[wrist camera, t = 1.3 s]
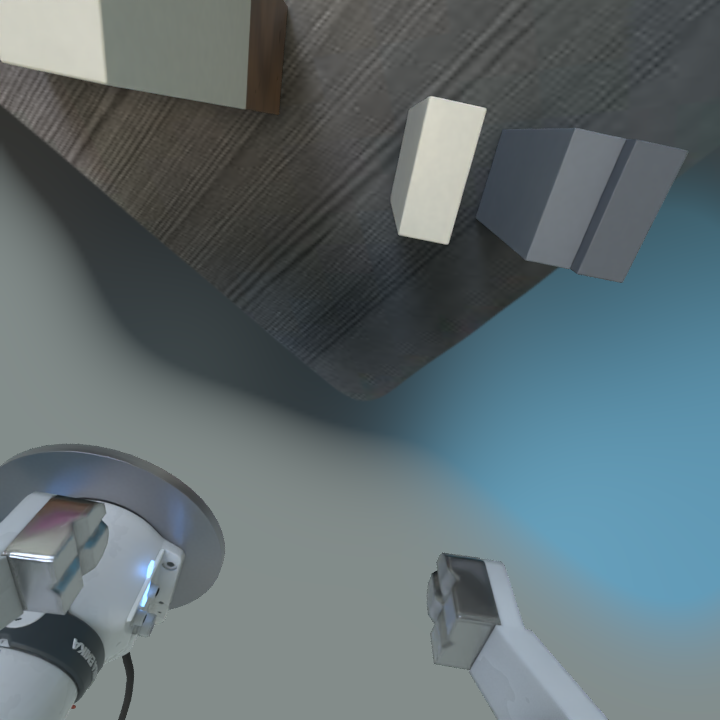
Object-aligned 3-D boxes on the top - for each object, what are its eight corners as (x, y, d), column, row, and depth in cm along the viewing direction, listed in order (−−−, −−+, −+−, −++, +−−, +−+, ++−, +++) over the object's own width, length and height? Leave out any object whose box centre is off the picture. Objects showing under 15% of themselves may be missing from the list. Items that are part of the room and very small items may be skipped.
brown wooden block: (279, 115, 29) (237, 108, 20) (40, 64, 28) (-113, 33, 19) (288, 5, 26) (244, -58, 17) (22, -56, 25) (-166, -156, 16)
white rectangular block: (423, 207, 32) (448, 245, 21) (389, 200, 31) (397, 235, 21) (446, 116, 29) (487, 108, 18) (408, 108, 29) (429, 95, 18)
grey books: (535, 230, 32) (622, 283, 21) (475, 218, 32) (530, 265, 21) (568, 143, 29) (689, 150, 18) (502, 129, 29) (583, 127, 18)
